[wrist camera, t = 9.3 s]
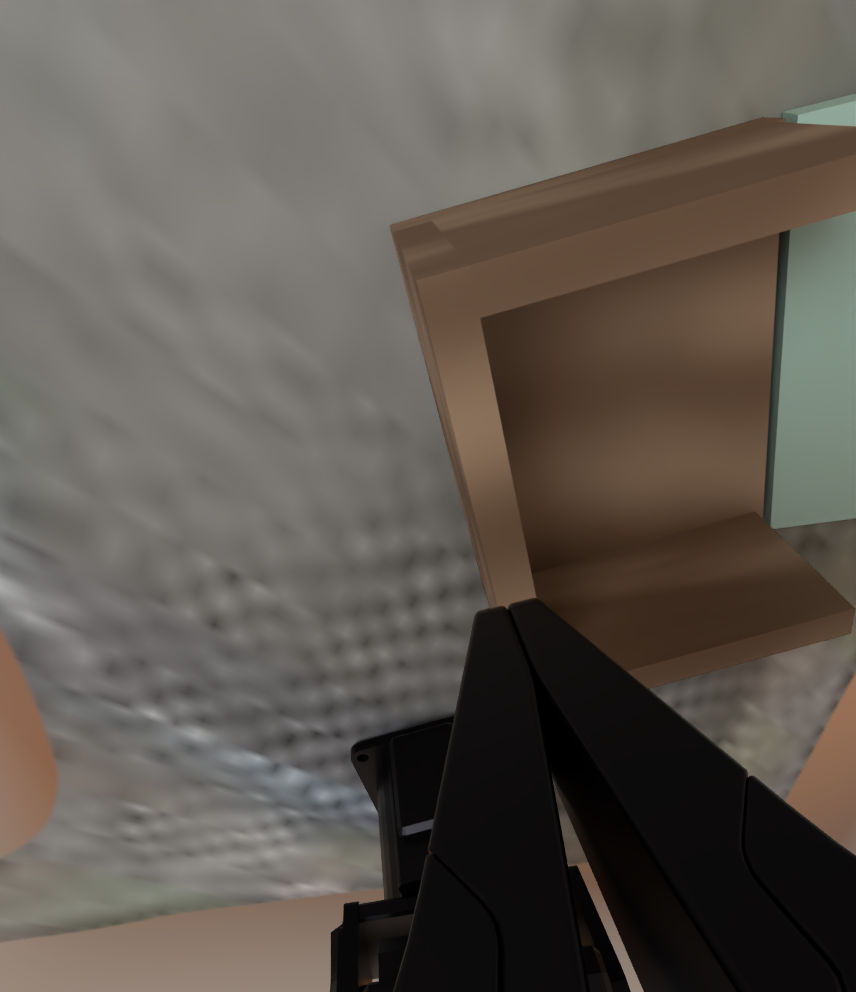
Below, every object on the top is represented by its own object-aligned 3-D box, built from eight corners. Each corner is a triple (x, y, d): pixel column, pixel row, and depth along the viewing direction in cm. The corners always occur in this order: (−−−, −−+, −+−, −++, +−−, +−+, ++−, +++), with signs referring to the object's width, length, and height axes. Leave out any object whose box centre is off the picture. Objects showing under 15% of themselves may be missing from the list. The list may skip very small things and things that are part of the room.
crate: (746, 516, 24) (860, 630, 18) (484, 588, 24) (526, 722, 19) (762, 117, 16) (954, 126, 11) (389, 225, 17) (416, 280, 12)
